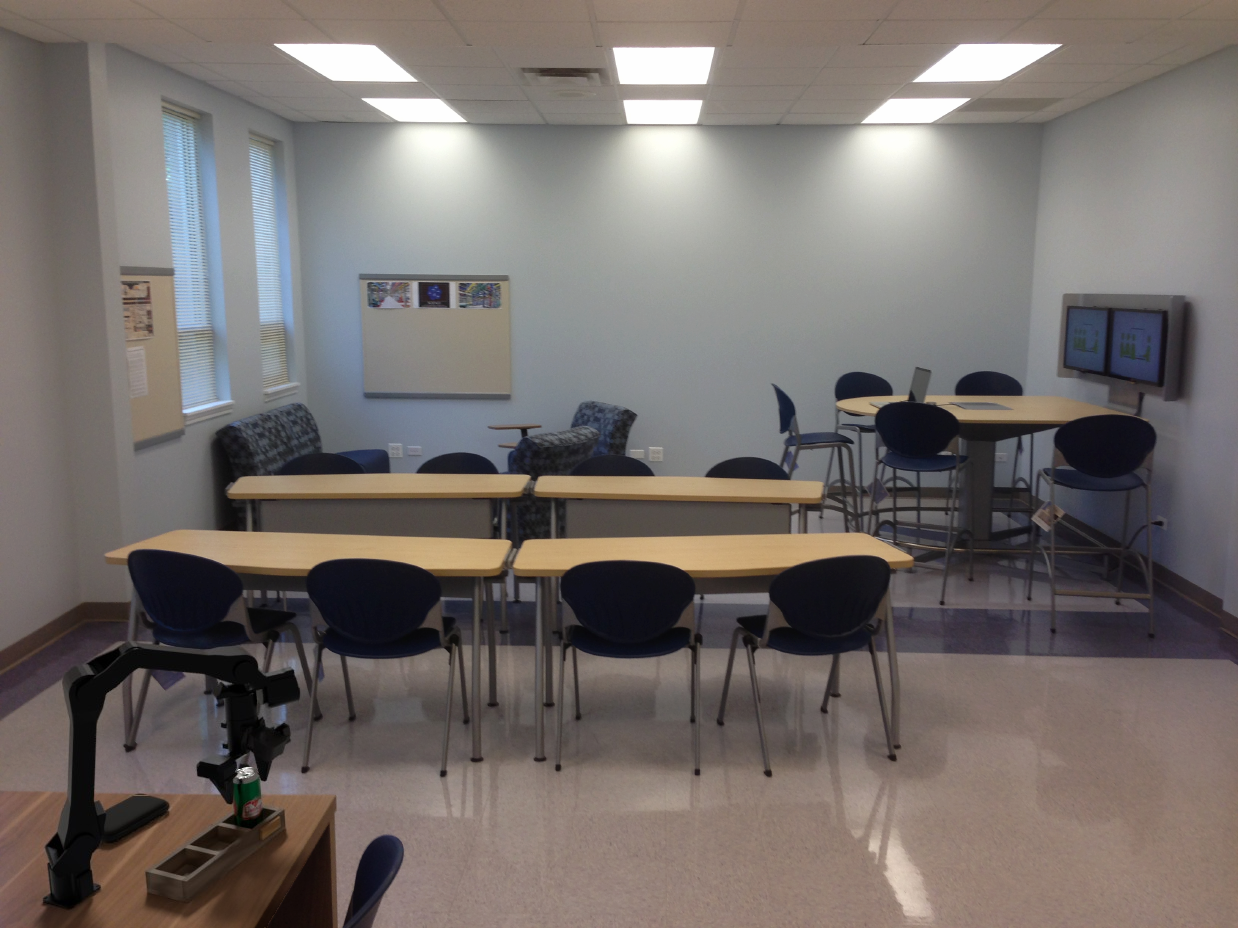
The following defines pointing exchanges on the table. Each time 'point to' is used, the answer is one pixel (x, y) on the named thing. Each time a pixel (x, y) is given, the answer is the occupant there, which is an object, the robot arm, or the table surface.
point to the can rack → (211, 855)
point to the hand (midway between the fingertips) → (247, 791)
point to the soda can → (247, 798)
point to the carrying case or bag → (132, 816)
